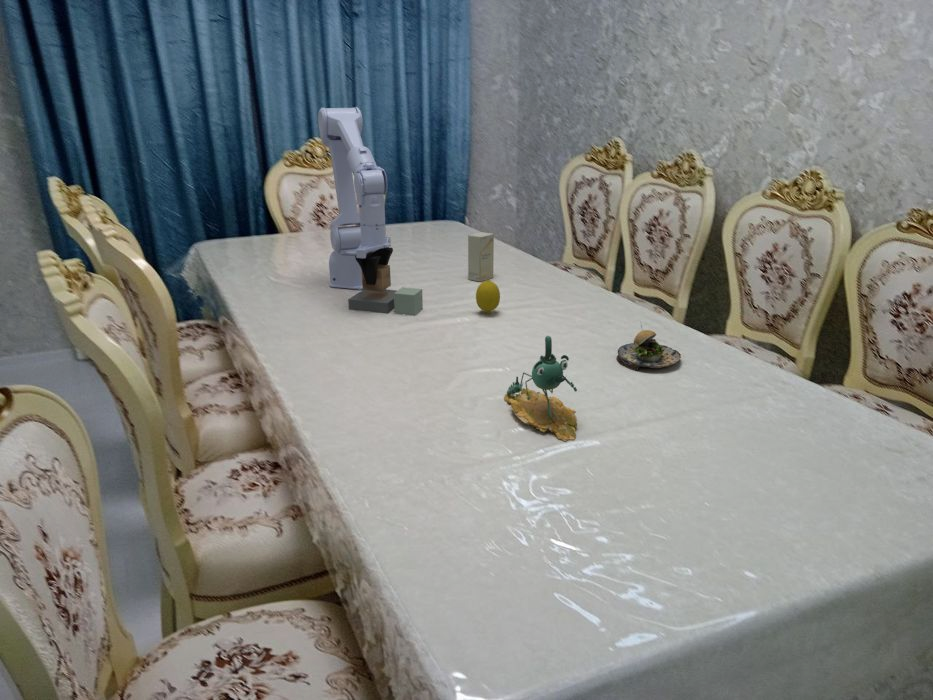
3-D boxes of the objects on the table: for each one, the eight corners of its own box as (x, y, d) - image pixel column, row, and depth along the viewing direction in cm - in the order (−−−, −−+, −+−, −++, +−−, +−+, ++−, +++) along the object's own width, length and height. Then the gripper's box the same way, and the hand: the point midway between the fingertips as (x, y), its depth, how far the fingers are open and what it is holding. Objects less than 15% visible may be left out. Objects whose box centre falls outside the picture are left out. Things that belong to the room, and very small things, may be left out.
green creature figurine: (541, 388, 115) (551, 311, 108) (597, 447, 100) (612, 361, 94) (491, 397, 112) (498, 317, 105) (541, 459, 97) (552, 371, 90)
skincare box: (480, 282, 177) (480, 237, 172) (467, 279, 179) (467, 235, 175) (494, 277, 181) (494, 233, 177) (481, 274, 184) (481, 231, 179)
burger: (635, 377, 120) (638, 339, 117) (605, 353, 130) (608, 318, 127) (693, 370, 123) (698, 332, 120) (659, 347, 133) (663, 312, 130)
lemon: (471, 315, 152) (471, 281, 149) (482, 308, 156) (482, 275, 153) (493, 318, 149) (493, 284, 146) (503, 311, 154) (504, 278, 151)
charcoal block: (348, 311, 156) (348, 299, 155) (367, 299, 165) (366, 287, 164) (387, 315, 153) (387, 303, 152) (404, 302, 162) (404, 291, 161)
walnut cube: (362, 289, 155) (361, 268, 154) (371, 283, 160) (370, 263, 158) (382, 291, 154) (381, 270, 152) (390, 285, 159) (389, 265, 157)
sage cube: (394, 314, 153) (393, 293, 151) (403, 307, 157) (402, 287, 155) (414, 316, 151) (414, 295, 150) (422, 309, 156) (422, 289, 154)
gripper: (375, 231, 144) (378, 291, 149) (401, 219, 157) (403, 274, 162) (346, 229, 146) (350, 288, 151) (374, 217, 159) (377, 272, 164)
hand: (375, 281), depth 156 cm, fingers closed on walnut cube, 5 cm apart
